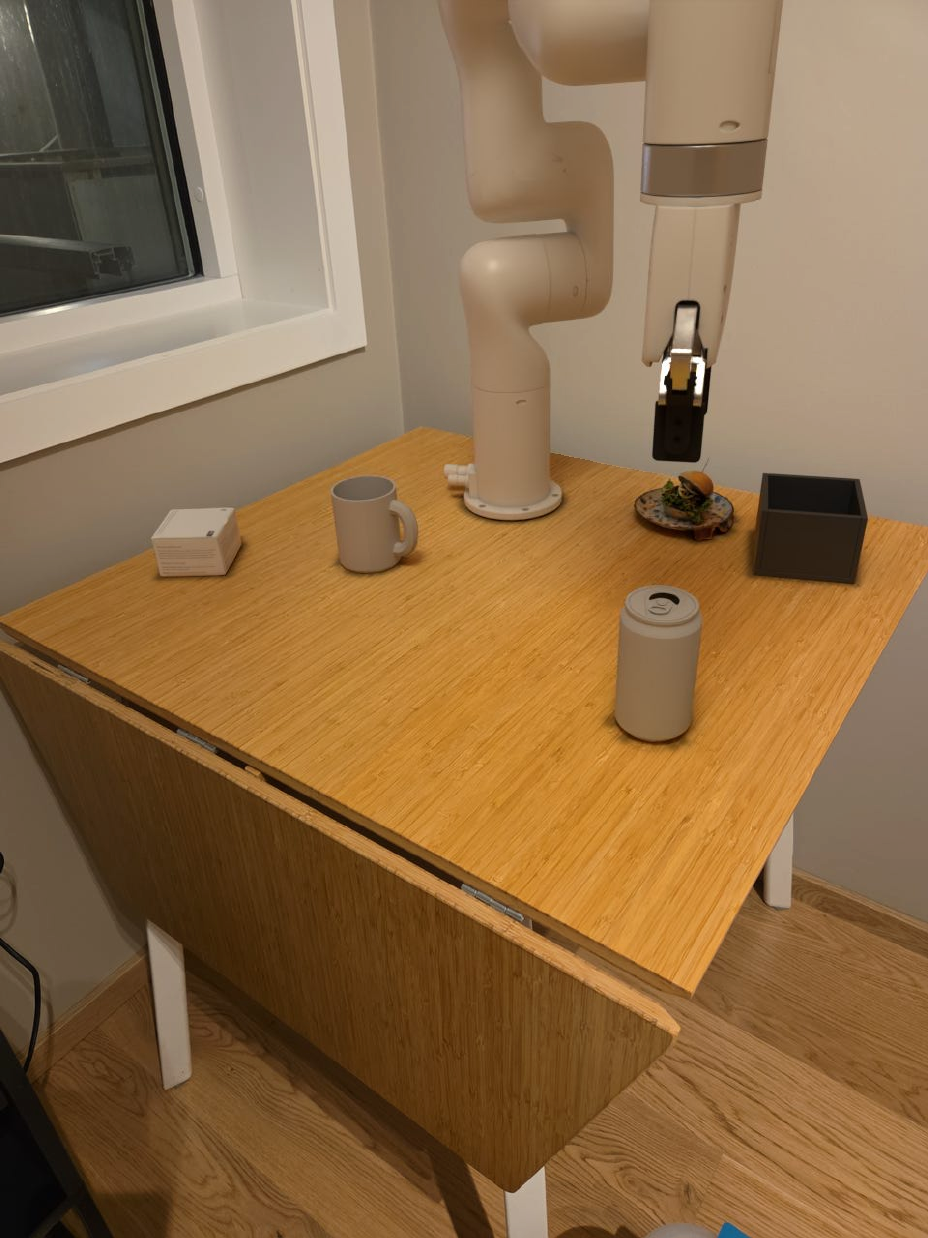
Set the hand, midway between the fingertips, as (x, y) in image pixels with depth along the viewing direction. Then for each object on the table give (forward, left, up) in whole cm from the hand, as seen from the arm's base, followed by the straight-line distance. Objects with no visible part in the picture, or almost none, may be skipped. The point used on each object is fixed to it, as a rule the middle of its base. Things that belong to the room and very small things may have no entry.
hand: (681, 435), depth 65 cm
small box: (-54, +17, -25) cm, 62 cm away
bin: (+13, +31, -25) cm, 41 cm away
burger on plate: (-1, +38, -25) cm, 46 cm away
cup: (-33, +21, -25) cm, 46 cm away
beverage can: (0, -2, -25) cm, 25 cm away
